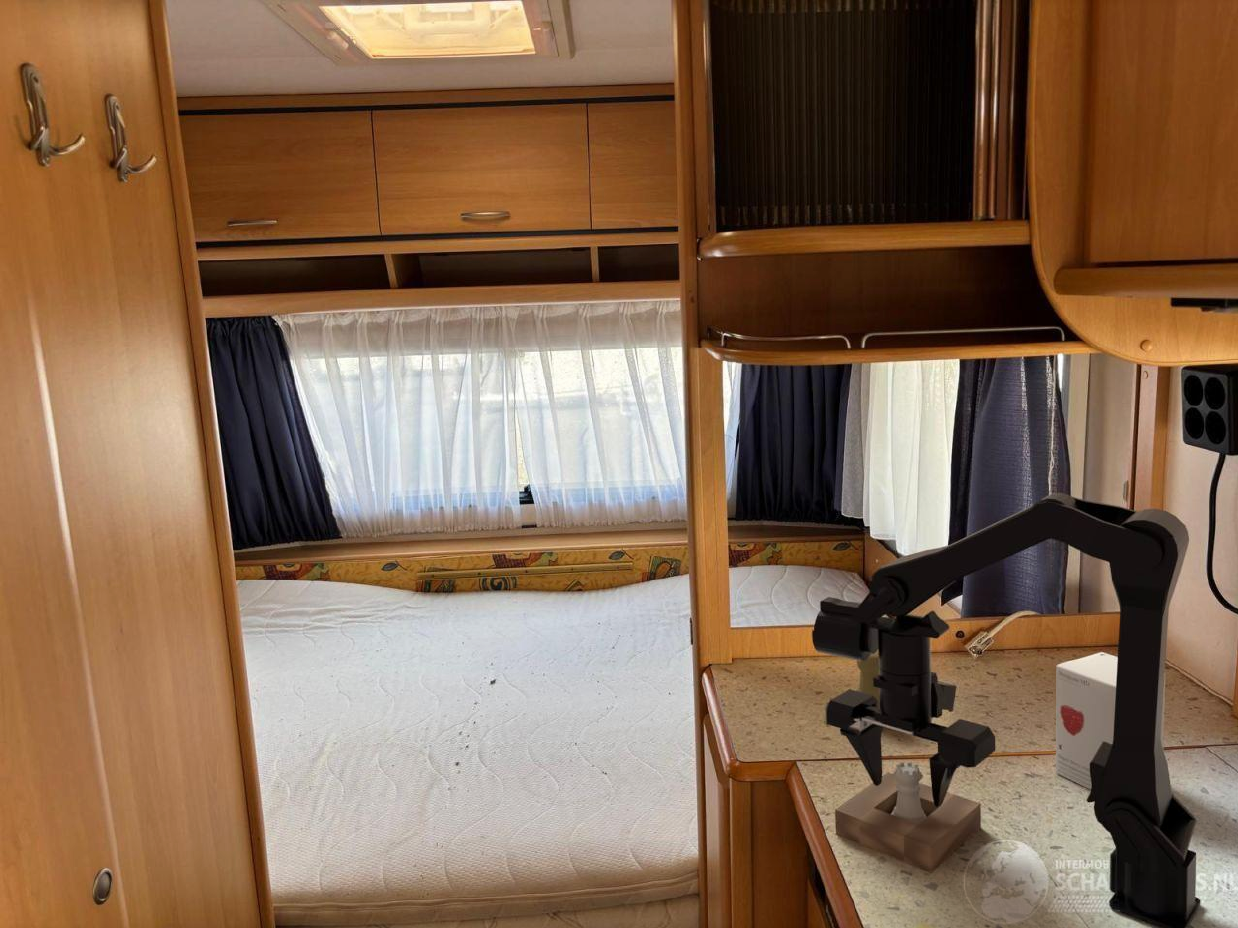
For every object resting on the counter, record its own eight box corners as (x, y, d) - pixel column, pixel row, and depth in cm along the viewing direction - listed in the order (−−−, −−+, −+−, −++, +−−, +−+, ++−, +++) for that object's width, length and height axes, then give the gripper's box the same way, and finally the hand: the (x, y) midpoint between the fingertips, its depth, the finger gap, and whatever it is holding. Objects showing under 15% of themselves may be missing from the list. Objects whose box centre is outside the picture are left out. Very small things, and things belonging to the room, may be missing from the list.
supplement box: (1052, 773, 115) (1052, 663, 113) (1100, 756, 119) (1101, 649, 117) (1116, 804, 107) (1118, 685, 105) (1165, 785, 110) (1167, 670, 108)
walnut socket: (980, 827, 104) (980, 803, 103) (931, 872, 95) (930, 846, 95) (888, 794, 112) (887, 771, 112) (835, 833, 104) (834, 809, 104)
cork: (865, 729, 131) (863, 658, 130) (848, 713, 137) (846, 645, 136) (903, 724, 132) (902, 653, 131) (885, 708, 138) (883, 641, 137)
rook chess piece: (897, 817, 107) (896, 754, 106) (934, 827, 104) (933, 763, 103) (883, 834, 103) (882, 769, 102) (921, 845, 101) (920, 779, 100)
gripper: (1016, 664, 100) (1016, 793, 102) (869, 633, 114) (872, 747, 116) (971, 694, 92) (973, 833, 94) (820, 657, 106) (824, 779, 108)
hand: (907, 794), depth 103 cm, fingers open, 7 cm apart
